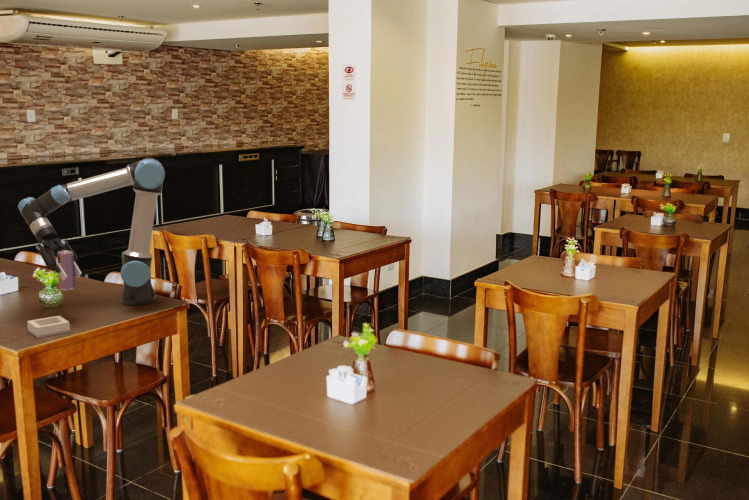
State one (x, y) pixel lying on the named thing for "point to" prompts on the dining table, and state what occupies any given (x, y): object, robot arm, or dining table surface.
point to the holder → (48, 326)
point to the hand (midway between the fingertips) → (72, 276)
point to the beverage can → (66, 269)
